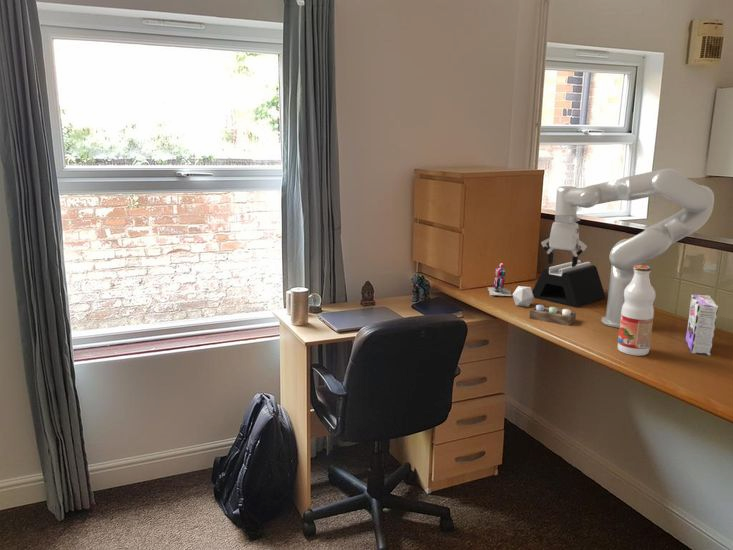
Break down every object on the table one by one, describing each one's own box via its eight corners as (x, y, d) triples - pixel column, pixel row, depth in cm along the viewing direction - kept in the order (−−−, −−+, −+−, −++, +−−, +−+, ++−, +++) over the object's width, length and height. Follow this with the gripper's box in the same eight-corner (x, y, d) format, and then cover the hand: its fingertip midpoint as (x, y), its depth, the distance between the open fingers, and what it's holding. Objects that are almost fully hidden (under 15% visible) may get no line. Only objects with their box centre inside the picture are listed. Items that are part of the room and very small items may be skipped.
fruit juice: (651, 357, 181) (661, 270, 174) (618, 354, 184) (627, 268, 177) (646, 347, 189) (656, 264, 183) (615, 344, 192) (624, 262, 186)
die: (535, 305, 240) (525, 285, 243) (539, 300, 232) (529, 279, 234) (517, 313, 240) (507, 292, 242) (521, 308, 231) (510, 286, 234)
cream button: (571, 318, 217) (571, 309, 216) (568, 320, 214) (569, 311, 214) (563, 317, 218) (563, 308, 218) (560, 319, 216) (561, 310, 215)
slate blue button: (544, 314, 222) (545, 305, 222) (542, 316, 220) (542, 307, 219) (537, 312, 224) (537, 304, 223) (534, 314, 222) (535, 306, 221)
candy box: (684, 339, 197) (691, 293, 193) (704, 342, 195) (711, 295, 191) (690, 353, 185) (697, 303, 181) (711, 355, 183) (719, 305, 179)
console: (575, 320, 218) (576, 312, 218) (569, 325, 212) (570, 317, 211) (536, 313, 227) (537, 306, 226) (529, 318, 220) (529, 310, 220)
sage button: (557, 316, 220) (558, 307, 219) (555, 318, 217) (556, 309, 216) (549, 315, 221) (550, 306, 220) (547, 316, 219) (548, 308, 218)
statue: (511, 300, 251) (515, 267, 245) (490, 299, 251) (493, 266, 246) (508, 290, 261) (511, 259, 256) (487, 289, 262) (490, 258, 256)
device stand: (530, 297, 251) (532, 263, 248) (558, 289, 265) (561, 257, 262) (577, 308, 234) (580, 272, 231) (605, 299, 249) (608, 265, 245)
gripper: (592, 220, 215) (588, 265, 219) (545, 217, 225) (542, 260, 228) (586, 222, 209) (582, 269, 213) (539, 219, 219) (536, 264, 222)
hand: (562, 264), depth 221 cm, fingers open, 8 cm apart
